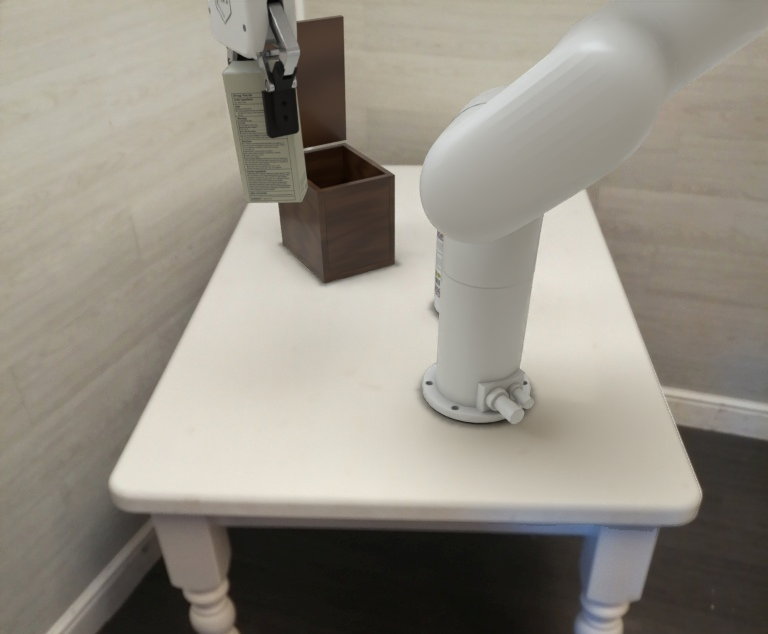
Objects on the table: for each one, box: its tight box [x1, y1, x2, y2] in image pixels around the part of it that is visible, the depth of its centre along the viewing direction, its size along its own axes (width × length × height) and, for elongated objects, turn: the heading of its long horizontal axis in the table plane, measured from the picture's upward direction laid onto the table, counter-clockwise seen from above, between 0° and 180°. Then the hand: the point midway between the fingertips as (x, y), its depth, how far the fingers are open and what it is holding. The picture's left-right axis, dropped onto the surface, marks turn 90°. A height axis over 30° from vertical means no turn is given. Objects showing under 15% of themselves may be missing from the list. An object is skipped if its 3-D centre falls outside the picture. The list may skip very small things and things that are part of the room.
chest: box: [277, 142, 396, 284], centre depth 106 cm, size 15×12×13 cm
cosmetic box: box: [221, 60, 308, 204], centre depth 72 cm, size 6×4×12 cm
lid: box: [264, 14, 347, 150], centre depth 101 cm, size 16×12×5 cm
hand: (267, 122), depth 72 cm, fingers closed on cosmetic box, 6 cm apart
